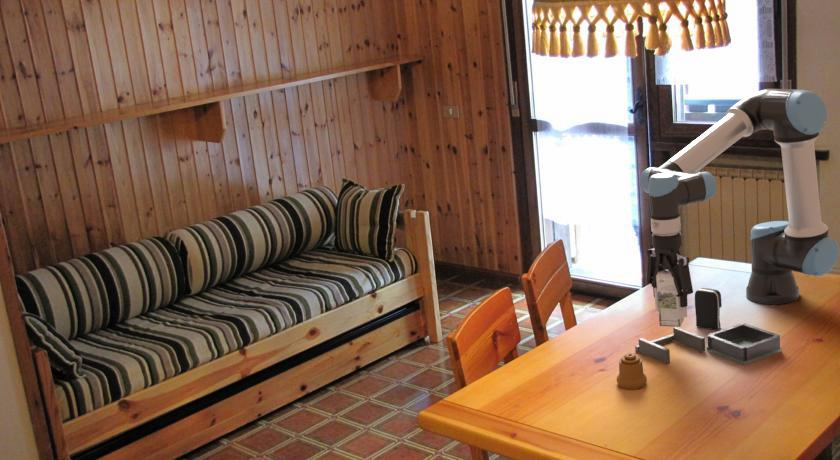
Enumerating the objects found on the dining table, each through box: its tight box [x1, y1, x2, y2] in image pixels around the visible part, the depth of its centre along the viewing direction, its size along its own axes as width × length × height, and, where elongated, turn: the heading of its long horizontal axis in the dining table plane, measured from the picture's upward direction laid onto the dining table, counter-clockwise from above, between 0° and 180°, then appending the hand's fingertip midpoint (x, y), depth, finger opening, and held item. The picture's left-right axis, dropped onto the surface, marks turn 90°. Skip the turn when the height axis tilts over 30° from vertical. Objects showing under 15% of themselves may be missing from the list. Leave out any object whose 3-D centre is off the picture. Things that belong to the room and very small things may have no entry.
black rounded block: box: [694, 287, 723, 331], centre depth 266 cm, size 7×4×11 cm, turn 46°
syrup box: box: [656, 269, 685, 328], centre depth 249 cm, size 6×6×14 cm
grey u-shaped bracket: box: [634, 327, 706, 365], centre depth 253 cm, size 13×13×4 cm
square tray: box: [705, 322, 783, 366], centre depth 247 cm, size 13×13×4 cm
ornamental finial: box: [616, 353, 648, 390], centre depth 235 cm, size 8×8×8 cm
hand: (671, 313), depth 250 cm, fingers closed on syrup box, 8 cm apart
